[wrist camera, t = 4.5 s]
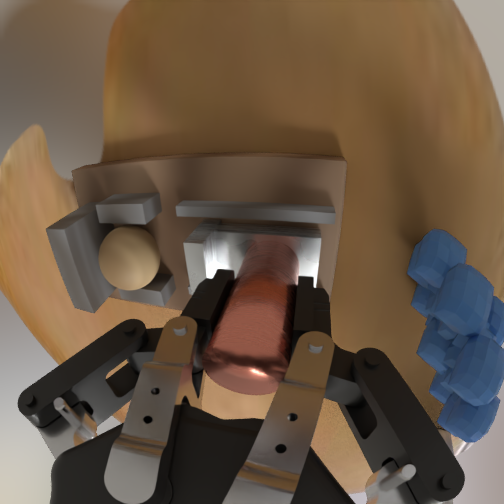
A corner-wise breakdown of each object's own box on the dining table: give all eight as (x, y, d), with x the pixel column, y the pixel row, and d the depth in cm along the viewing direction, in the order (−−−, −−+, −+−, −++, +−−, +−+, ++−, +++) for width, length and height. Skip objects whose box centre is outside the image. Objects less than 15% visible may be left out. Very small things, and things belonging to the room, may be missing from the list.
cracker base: (343, 157, 14) (364, 183, 9) (324, 312, 19) (325, 378, 14) (84, 165, 17) (25, 191, 12) (114, 286, 22) (76, 329, 17)
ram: (320, 225, 14) (328, 340, 7) (314, 286, 16) (309, 407, 9) (204, 218, 15) (125, 312, 8) (210, 277, 17) (155, 380, 10)
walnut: (165, 215, 16) (130, 245, 13) (175, 271, 18) (147, 308, 15) (115, 215, 17) (78, 242, 13) (128, 266, 19) (97, 297, 15)
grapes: (471, 316, 17) (518, 433, 7) (403, 342, 19) (427, 474, 9) (466, 186, 13) (595, 300, 3) (377, 218, 15) (454, 391, 5)
